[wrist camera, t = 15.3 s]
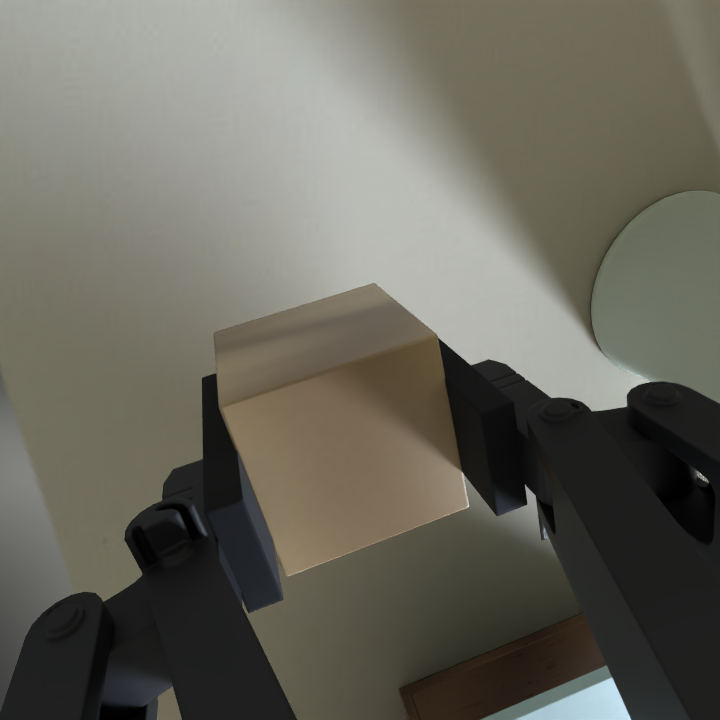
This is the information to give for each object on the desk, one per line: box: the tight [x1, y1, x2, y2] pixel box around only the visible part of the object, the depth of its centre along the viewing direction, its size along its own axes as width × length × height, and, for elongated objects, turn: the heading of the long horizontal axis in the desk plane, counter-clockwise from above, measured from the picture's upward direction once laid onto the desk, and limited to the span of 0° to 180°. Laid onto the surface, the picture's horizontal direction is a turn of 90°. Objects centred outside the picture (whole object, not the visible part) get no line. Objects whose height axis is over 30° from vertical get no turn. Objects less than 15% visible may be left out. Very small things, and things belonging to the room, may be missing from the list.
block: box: [214, 283, 469, 577], centre depth 15 cm, size 5×5×5 cm
